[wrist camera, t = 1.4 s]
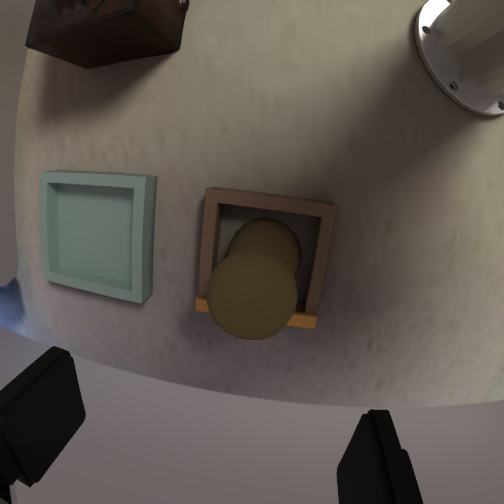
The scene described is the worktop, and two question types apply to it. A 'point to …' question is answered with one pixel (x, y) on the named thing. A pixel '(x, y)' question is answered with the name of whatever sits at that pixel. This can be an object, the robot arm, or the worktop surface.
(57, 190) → the tray
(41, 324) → the worktop surface
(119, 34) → the brown coffee grinder
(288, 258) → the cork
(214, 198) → the holder frame
